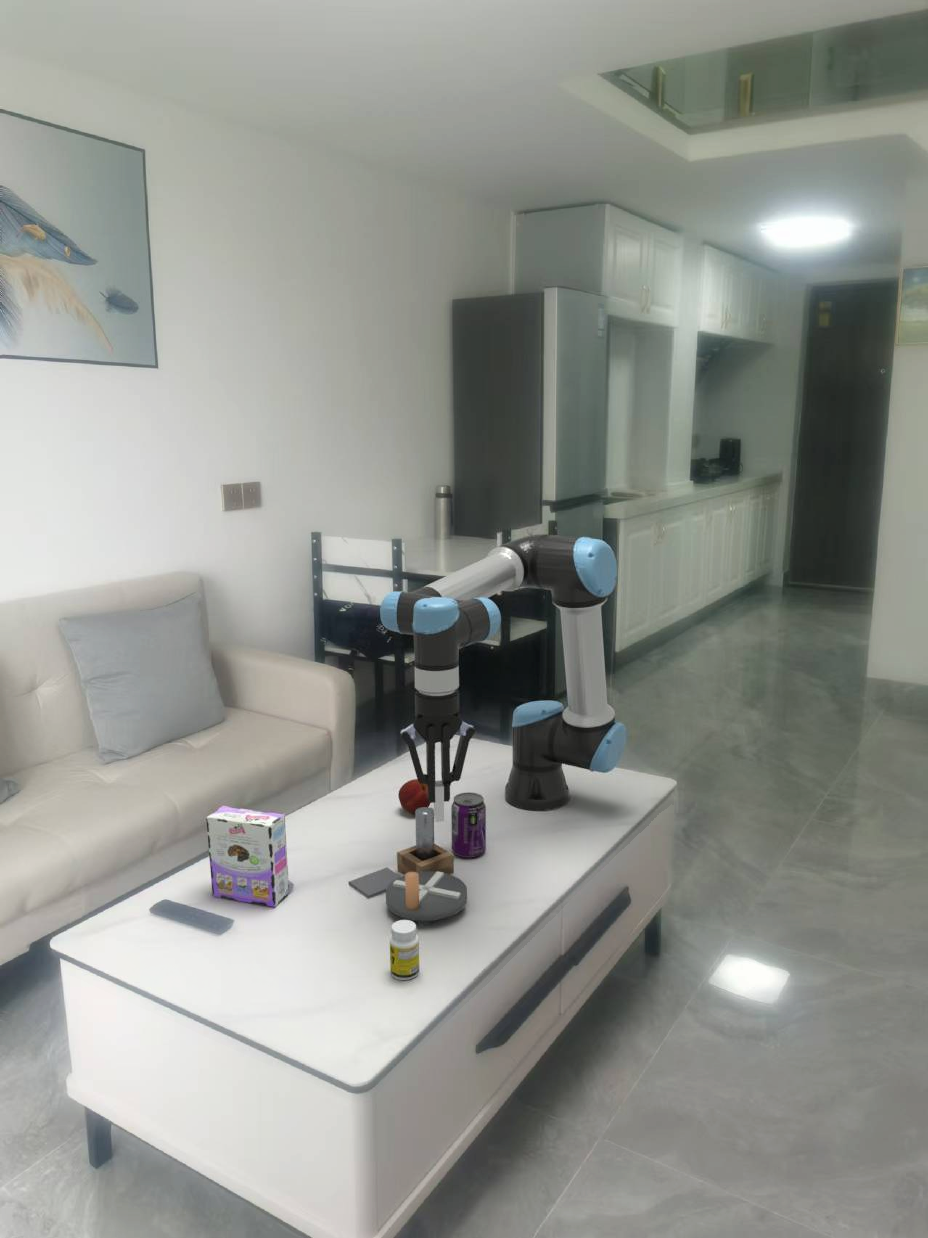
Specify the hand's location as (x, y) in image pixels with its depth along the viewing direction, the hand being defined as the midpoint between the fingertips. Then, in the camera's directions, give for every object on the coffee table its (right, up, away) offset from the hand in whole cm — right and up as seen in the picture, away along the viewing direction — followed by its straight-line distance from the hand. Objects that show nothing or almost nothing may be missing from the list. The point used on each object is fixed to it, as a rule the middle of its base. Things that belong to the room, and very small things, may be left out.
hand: (439, 818), depth 162 cm
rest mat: (-12, -17, +18) cm, 27 cm away
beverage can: (+5, -14, +30) cm, 34 cm away
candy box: (-36, -18, +14) cm, 43 cm away
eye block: (-3, -15, +22) cm, 27 cm away
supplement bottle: (-5, -23, -11) cm, 26 cm away
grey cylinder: (-3, -15, +22) cm, 27 cm away
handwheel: (-3, -17, +9) cm, 19 cm away
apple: (-7, -10, +50) cm, 51 cm away
